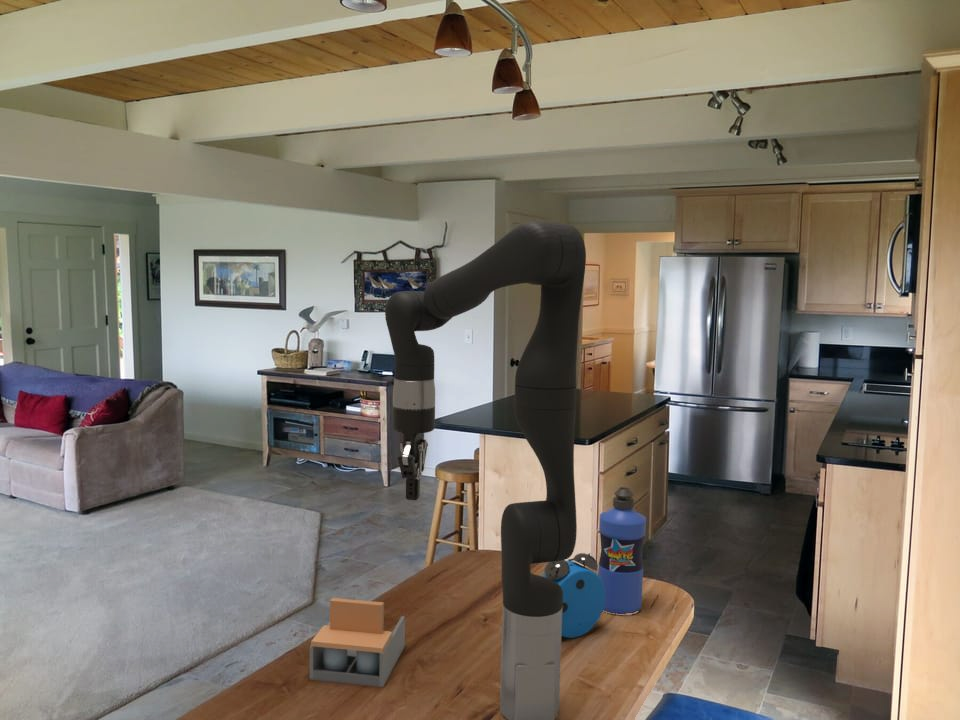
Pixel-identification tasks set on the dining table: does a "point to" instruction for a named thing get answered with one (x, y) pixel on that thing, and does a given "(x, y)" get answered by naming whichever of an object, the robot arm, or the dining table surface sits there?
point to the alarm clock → (578, 593)
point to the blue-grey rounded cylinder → (368, 663)
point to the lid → (354, 626)
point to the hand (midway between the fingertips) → (412, 498)
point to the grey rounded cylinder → (335, 659)
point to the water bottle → (622, 554)
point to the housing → (350, 676)
